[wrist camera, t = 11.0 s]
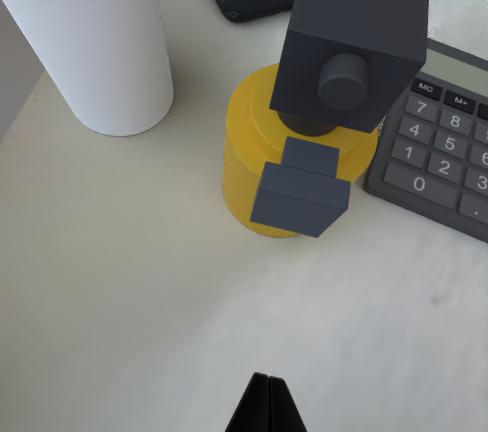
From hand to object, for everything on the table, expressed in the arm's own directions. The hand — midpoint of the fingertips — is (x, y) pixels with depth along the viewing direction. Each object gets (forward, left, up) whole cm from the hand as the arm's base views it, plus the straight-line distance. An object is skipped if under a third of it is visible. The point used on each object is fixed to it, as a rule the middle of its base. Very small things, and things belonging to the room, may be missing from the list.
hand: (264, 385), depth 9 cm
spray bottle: (+9, -6, -10) cm, 15 cm away
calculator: (+7, -21, -10) cm, 24 cm away
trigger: (+5, -4, -2) cm, 7 cm away
